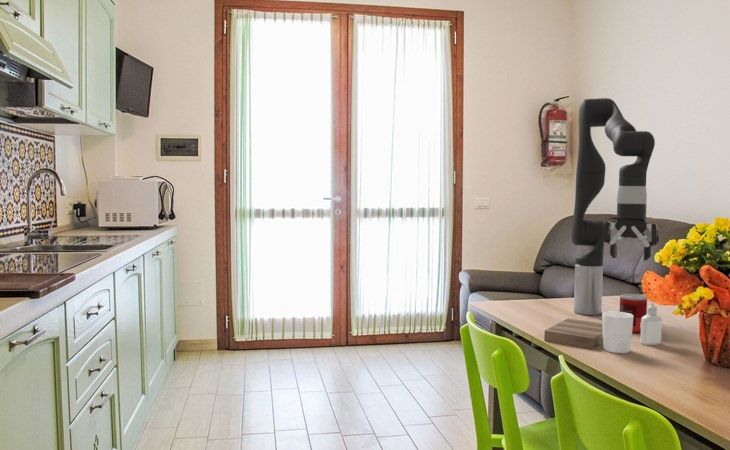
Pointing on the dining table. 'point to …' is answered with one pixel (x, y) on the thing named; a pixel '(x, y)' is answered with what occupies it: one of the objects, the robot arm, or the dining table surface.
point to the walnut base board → (576, 333)
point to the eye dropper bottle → (651, 327)
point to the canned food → (634, 308)
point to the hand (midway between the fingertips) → (629, 258)
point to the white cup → (617, 331)
